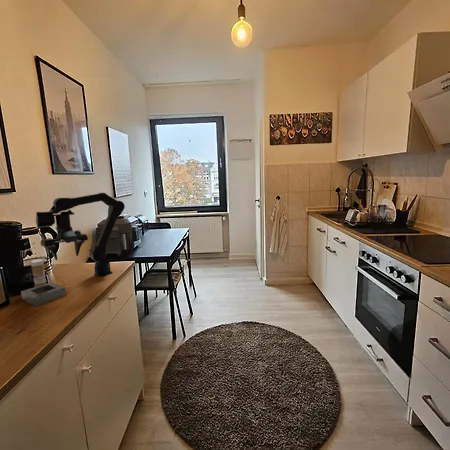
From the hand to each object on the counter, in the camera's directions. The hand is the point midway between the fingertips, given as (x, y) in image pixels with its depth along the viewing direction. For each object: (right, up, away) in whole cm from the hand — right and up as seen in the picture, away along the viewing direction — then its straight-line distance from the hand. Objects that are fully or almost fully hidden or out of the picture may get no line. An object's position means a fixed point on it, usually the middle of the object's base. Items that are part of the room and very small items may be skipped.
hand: (67, 257), depth 134 cm
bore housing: (-1, -15, -15) cm, 21 cm away
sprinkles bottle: (-8, -14, -6) cm, 17 cm away
